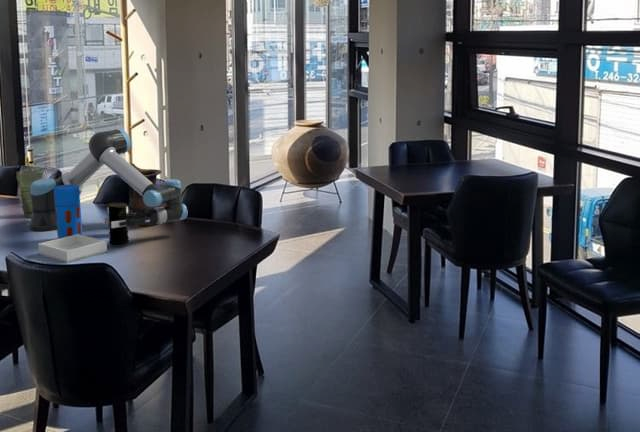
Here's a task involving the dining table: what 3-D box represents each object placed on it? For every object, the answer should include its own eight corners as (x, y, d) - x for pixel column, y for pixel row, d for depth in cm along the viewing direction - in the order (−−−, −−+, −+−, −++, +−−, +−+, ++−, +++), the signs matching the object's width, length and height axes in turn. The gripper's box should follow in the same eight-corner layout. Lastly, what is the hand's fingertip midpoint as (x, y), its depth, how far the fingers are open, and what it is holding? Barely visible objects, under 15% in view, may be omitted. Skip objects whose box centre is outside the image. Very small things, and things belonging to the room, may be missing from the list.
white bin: (39, 254, 318) (38, 243, 317) (78, 244, 333) (77, 234, 332) (67, 263, 306) (66, 251, 305) (106, 252, 322) (106, 241, 321)
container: (120, 239, 338) (118, 201, 334) (133, 242, 333) (131, 203, 329) (104, 243, 331) (102, 204, 327) (118, 247, 326) (115, 207, 322)
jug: (175, 222, 374) (172, 164, 367) (148, 230, 359) (145, 169, 352) (145, 217, 385) (142, 160, 378) (118, 224, 370) (114, 165, 363)
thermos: (87, 238, 345) (83, 185, 339) (73, 243, 335) (68, 189, 329) (68, 236, 348) (64, 183, 342) (53, 241, 338) (48, 188, 333)
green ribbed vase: (18, 218, 383) (13, 170, 377) (30, 212, 394) (26, 166, 389) (38, 218, 381) (33, 171, 375) (50, 213, 393) (46, 167, 387)
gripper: (165, 228, 334) (118, 236, 320) (145, 219, 349) (98, 226, 335) (165, 212, 332) (117, 219, 318) (144, 204, 347) (97, 210, 333)
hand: (107, 223), depth 327 cm, fingers closed on container, 8 cm apart
